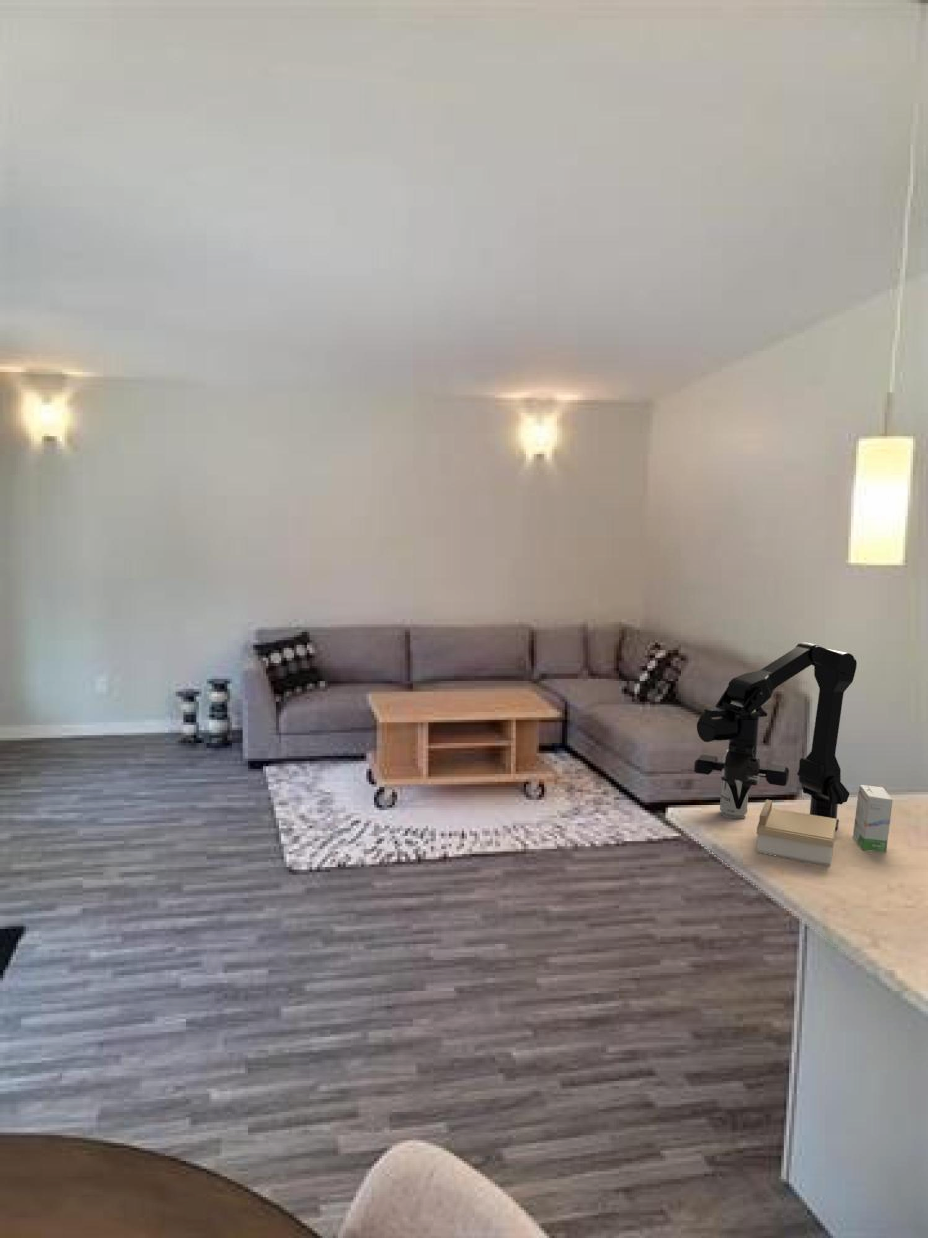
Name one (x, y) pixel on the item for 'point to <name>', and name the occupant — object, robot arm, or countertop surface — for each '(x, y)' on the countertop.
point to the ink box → (872, 818)
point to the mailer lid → (796, 826)
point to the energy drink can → (731, 800)
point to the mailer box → (795, 850)
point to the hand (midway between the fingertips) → (738, 808)
